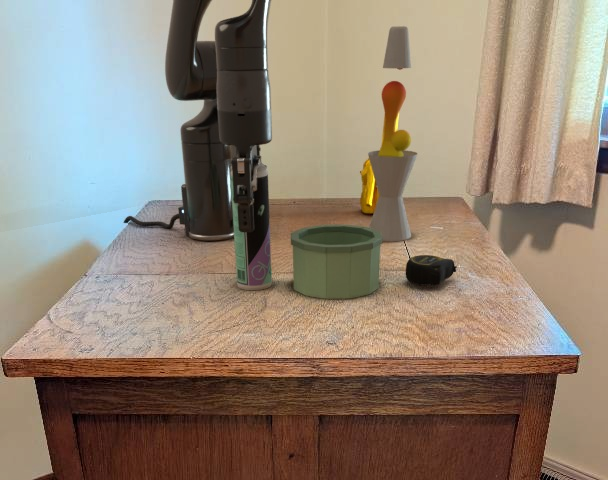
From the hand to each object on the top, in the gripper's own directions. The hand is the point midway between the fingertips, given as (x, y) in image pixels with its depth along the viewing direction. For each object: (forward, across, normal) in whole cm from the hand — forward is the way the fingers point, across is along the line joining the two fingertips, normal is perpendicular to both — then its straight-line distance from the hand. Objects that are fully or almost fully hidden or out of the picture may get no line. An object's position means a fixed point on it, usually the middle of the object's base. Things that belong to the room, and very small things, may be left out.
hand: (250, 224), depth 108 cm
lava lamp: (+9, -32, +23) cm, 40 cm away
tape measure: (+9, -1, +28) cm, 30 cm away
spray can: (+9, 0, 0) cm, 10 cm away
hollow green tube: (+9, 0, +13) cm, 16 cm away
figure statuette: (+9, -53, +21) cm, 58 cm away
